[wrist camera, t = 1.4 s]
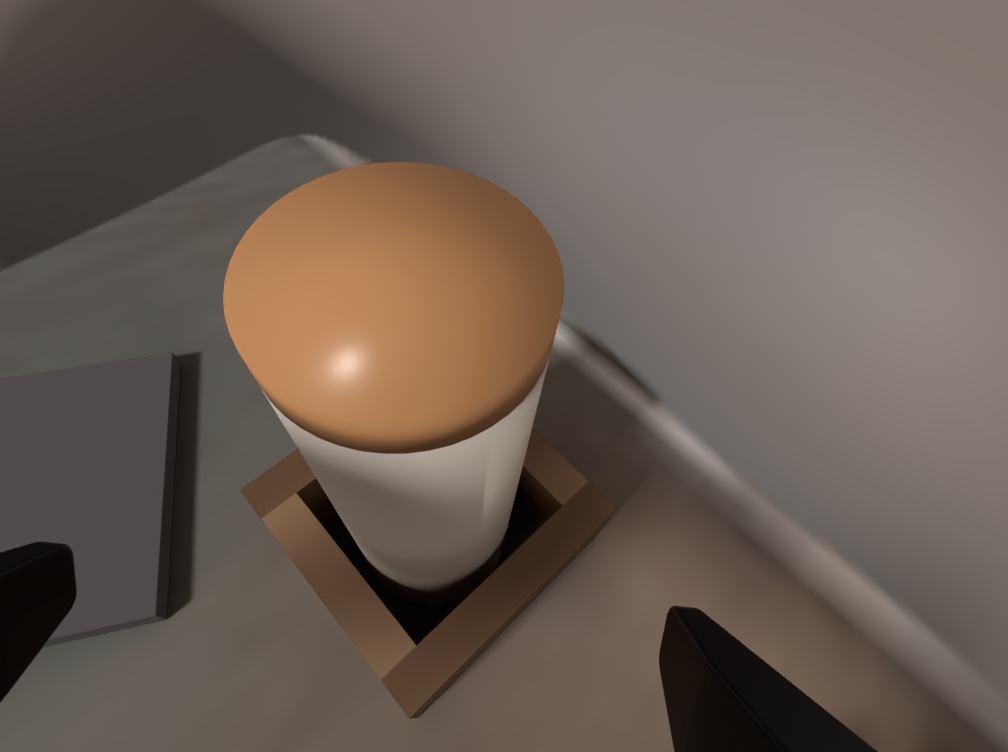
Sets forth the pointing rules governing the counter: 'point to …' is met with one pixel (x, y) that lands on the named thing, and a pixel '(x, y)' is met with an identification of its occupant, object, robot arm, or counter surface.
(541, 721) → the counter surface
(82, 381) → the mat
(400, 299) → the plug
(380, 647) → the socket block
